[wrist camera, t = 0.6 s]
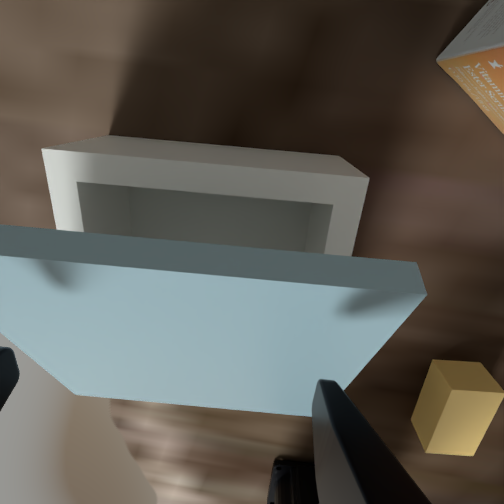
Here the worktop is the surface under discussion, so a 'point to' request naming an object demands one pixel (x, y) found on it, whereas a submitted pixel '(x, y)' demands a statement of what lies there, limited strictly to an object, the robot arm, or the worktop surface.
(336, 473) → the robot arm
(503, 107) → the small box
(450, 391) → the tan rectangular prism
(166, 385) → the lid
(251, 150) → the storage box
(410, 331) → the worktop surface
